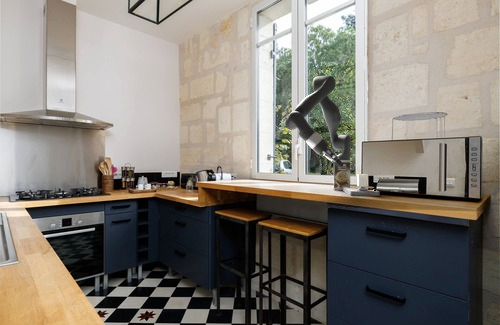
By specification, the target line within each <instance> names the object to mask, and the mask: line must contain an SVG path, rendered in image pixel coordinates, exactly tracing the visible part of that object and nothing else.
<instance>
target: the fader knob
mask: <svg viewBox="0 0 500 325" xmlns="http://www.w3.org/2000/svg"><path fill="white" fill-rule="evenodd" d="M356 178H357V180H356V182H357V184H356V186H357V188H358V190H368V188H369V174H368V173H357V174H356Z"/></svg>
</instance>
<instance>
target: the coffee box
mask: <svg viewBox="0 0 500 325" xmlns="http://www.w3.org/2000/svg"><path fill="white" fill-rule="evenodd" d="M342 163H343V164H344V165H343V166H342V167H340V166H339V167H337V166H336V165H335V164H334V163H333V191H343V187H344V188H351V161H350V162H342Z"/></svg>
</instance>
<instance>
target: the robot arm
mask: <svg viewBox="0 0 500 325" xmlns="http://www.w3.org/2000/svg"><path fill="white" fill-rule="evenodd" d="M312 88H313V91H314V92H313V93H311V94H309V95H307V96H306V97H305V98H303V99H302V100H301V102H299V104H297V106H296V107H295V109H294V110H293V111H291V112H290V113H289V114H288V116H287V117H286V119H285V124H284V125H285V126H286V128H287V129H288V130H293V131H294V130H296V129H298V135H299V137H300V138H301V139H302V140H303V141H305V143H306V144H307V145H308V146H309V147H310V148H311V149H312V150H313V151H314V152H315V153H316V154H317V155H320V154H322V155H323V156H324V157H325V158H326V159H327V160H328V161H330V162H331V163H333V165H334V164H335V165H336V166H337V167H339V166H340V167H342V166H343V165H344V164H343V163H342V162H350V163H351V146H352V139H351V136H350V135H349V134H342V135H338V133H337V131H338V128H339V126H340V124H341V121H342V115H341V112H340V109H339V107H338V105H336V103H335V102H334V101H333V100H332V99H331V98H330V97H329V95H330V94H331V93H332V92H333V91H335V90H334V89H335V88H336V80H335V77H334V76H332V75H319V76H316V77H314V78H313V80H312ZM318 104H319V105H320V108H321V110H322V114H323V118H324V121H325V123H326V126H327V128H328V133H329V136H330V140H331V141H330V142H331V145H332V148H333V149H334V150H335V151H337V150H338V151H339V150H340V151H342V150H343V151H342V152H341V153H339V154H336V153H335V152H334V151H333V150H332V149H329V148H328V147H329V145H330V144H329V142H328V141H327V140H326V139H325V138H323V136H322V135H321V134H320V133H318V132H317V131H316V130H315V129H313V128H312V127H311V125H310V124H309V122H308V121H307V119H306V117H307V116H308V115H309V114H310V113H311V111H312V110H313V109H314V108H315V107H316V106H317V105H318Z"/></svg>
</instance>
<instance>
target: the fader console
mask: <svg viewBox="0 0 500 325" xmlns="http://www.w3.org/2000/svg"><path fill="white" fill-rule="evenodd" d="M358 188H359V187H350V188H344V187H343V190H342V191H343V192H344V193H345V194H347V195H349V196H358V197H359V196H363V197H364V196H365V197H367V196H368V197H369V196H370V197H375V196H376V197H379V196H380V191H379V190H376V191H374V190H375V189H373V190H358Z"/></svg>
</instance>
